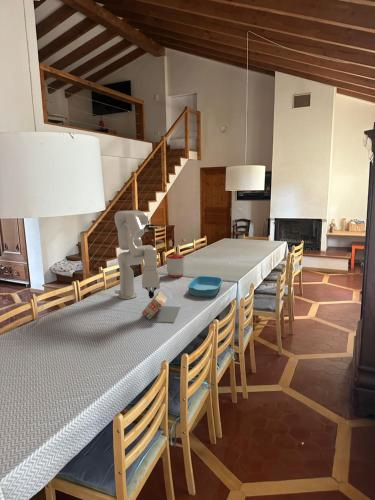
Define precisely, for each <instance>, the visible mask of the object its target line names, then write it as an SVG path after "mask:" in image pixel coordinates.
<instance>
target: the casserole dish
mask: <svg viewBox="0 0 375 500" xmlns="http://www.w3.org/2000/svg"><path fill="white" fill-rule="evenodd" d="M222 283H223V278H222V277H218V276H214V275H197V276H195V277H194V278H193V279H192V280H191V281H190V282H189V283H188V284H187V288H188V290H189V293H190V295H192V296H194V297H204V298H205V297H206V298H211V297H215V296H216V295H217V294H218V292H219V290H220V288H221V286H222Z"/></svg>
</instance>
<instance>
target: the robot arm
mask: <svg viewBox="0 0 375 500" xmlns="http://www.w3.org/2000/svg"><path fill="white" fill-rule="evenodd" d="M114 223H115V226H116V230H117V236H118V237H117V238H118V239H117V240H118V247H119V249H120V250H121V251H123V252H121V253H118V256H117V263H118V268H119V269H118V270H119V286H120V287H119V288H120V289H117V290H116V289H115V290H114V294H118V295H117V296H118V298H119V299H121V300H122V299H123V300H130V299H135V298H136V297H137V293H136V292H135V278H134V277H135V276H134V275H135V274H134V273H135V272H134V269H132V267H131V266H136V265H141V264H143V263H144V264H143V265H141V266H142V267H141V269H143V270H142V276H141V277H142V278H141V285H142V286H141V287H142V288H141V289H145V290H146V291H147V292H148V297H149V299H153V298H154V297H155V291H156V290H158V289H159V290H160V288H161V286H160V285H161V282H160V280H161V279H160V273H159V270H158V254H157V253H158V251H157V248H156V247H154V246H153V245H150V244H147V245H143V241H142V237H143V236H144V234H145V229H144V226H145V225H147V224H149V216H148V215H147V213H146V212H145V211H141V210H137V209H136V210H119V211H116V213H115V214H114ZM128 250H129V251H128Z"/></svg>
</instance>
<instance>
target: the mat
mask: <svg viewBox="0 0 375 500" xmlns="http://www.w3.org/2000/svg"><path fill="white" fill-rule="evenodd" d="M180 310H181V306H170V305H169V306H168V305H163V306H162V307H161V308H160V309H159V310H158V311H157V313H155V314H154V315H153V317H152V318H151V319H150V320H149V322H150V323H161V324H163V323H164V324H166V323H167V324H174V323H175V322H176V319H177V317H178V313H179V312H180Z"/></svg>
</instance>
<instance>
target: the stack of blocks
mask: <svg viewBox="0 0 375 500" xmlns="http://www.w3.org/2000/svg"><path fill="white" fill-rule="evenodd" d="M167 298H168V297H167V296H166V295H165V294H163V292H161V291H159V292H157V294H155V295H154V297H153V298H151V301H149V303H148V304H147V306H146V307H145V308H144V310H142V312H141V314H143V315H144V316H145V317H146V318H147V319H148V320H149V321H150V320H151V318H152V317H153V315H154V314H155V313H157V311H158V310H159V309H160V308H161V307H162V306H165V303H166V302H167Z"/></svg>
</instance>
